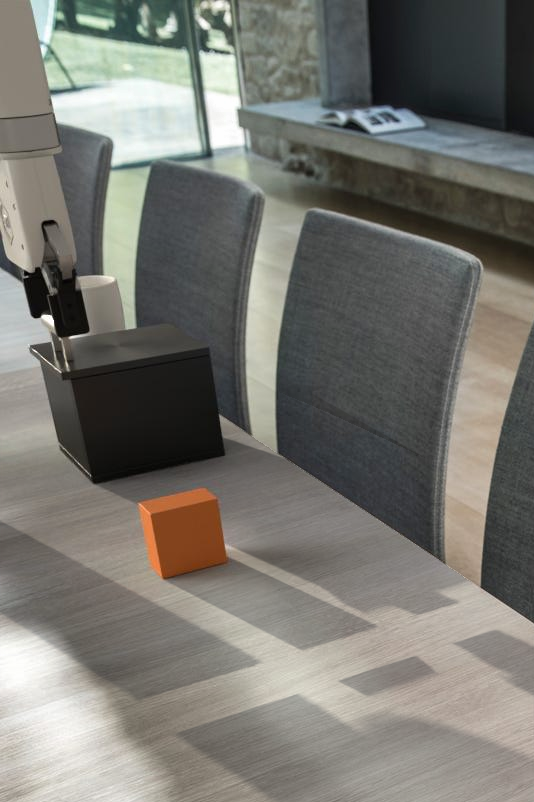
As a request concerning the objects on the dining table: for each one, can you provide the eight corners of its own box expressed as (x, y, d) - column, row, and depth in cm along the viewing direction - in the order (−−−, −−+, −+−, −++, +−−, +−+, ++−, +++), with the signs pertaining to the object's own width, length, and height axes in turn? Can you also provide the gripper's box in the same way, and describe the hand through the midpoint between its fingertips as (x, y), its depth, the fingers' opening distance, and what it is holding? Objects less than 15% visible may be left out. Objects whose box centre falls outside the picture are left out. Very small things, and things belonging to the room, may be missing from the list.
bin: (93, 483, 119) (70, 379, 114) (60, 450, 128) (37, 352, 123) (225, 455, 126) (210, 355, 120) (185, 424, 135) (169, 330, 129)
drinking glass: (111, 398, 144) (86, 273, 136) (152, 405, 141) (129, 277, 133) (71, 414, 139) (43, 285, 131) (114, 421, 136) (88, 290, 128)
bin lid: (62, 380, 113) (51, 331, 111) (29, 352, 122) (19, 306, 120) (210, 354, 120) (203, 307, 117) (169, 330, 129) (162, 285, 126)
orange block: (162, 579, 100) (150, 514, 97) (150, 566, 102) (137, 502, 99) (227, 562, 102) (217, 498, 99) (214, 549, 105) (204, 487, 101)
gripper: (-44, 134, 112) (2, 315, 121) (-3, 149, 99) (45, 349, 109) (34, 127, 115) (73, 304, 124) (83, 140, 103) (122, 336, 112)
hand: (60, 325), depth 117 cm, fingers open, 9 cm apart
